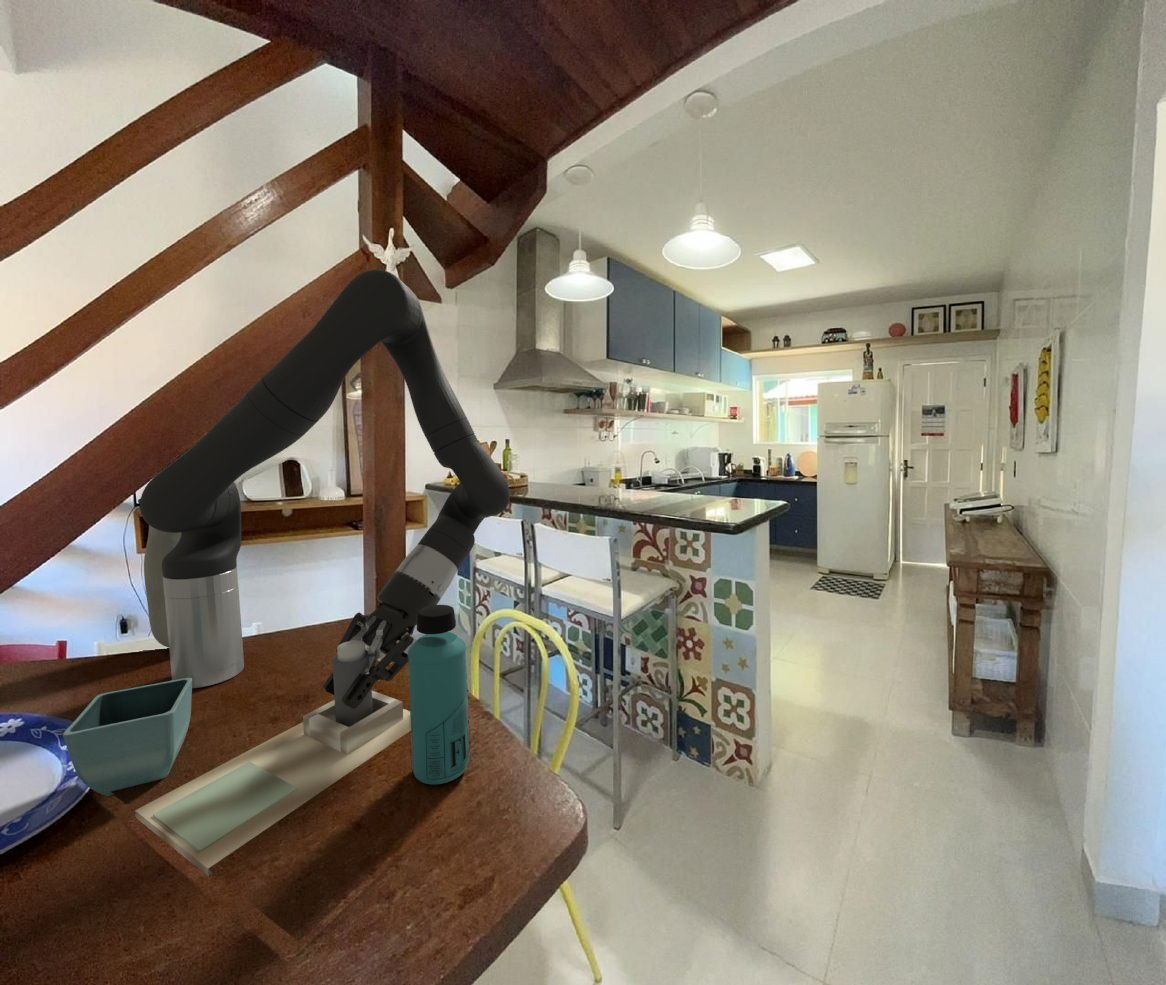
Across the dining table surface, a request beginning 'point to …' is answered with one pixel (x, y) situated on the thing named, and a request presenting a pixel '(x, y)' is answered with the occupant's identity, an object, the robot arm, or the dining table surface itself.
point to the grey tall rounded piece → (157, 580)
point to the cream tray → (269, 781)
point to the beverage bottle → (438, 698)
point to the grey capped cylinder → (350, 681)
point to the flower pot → (130, 735)
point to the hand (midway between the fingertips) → (338, 698)
